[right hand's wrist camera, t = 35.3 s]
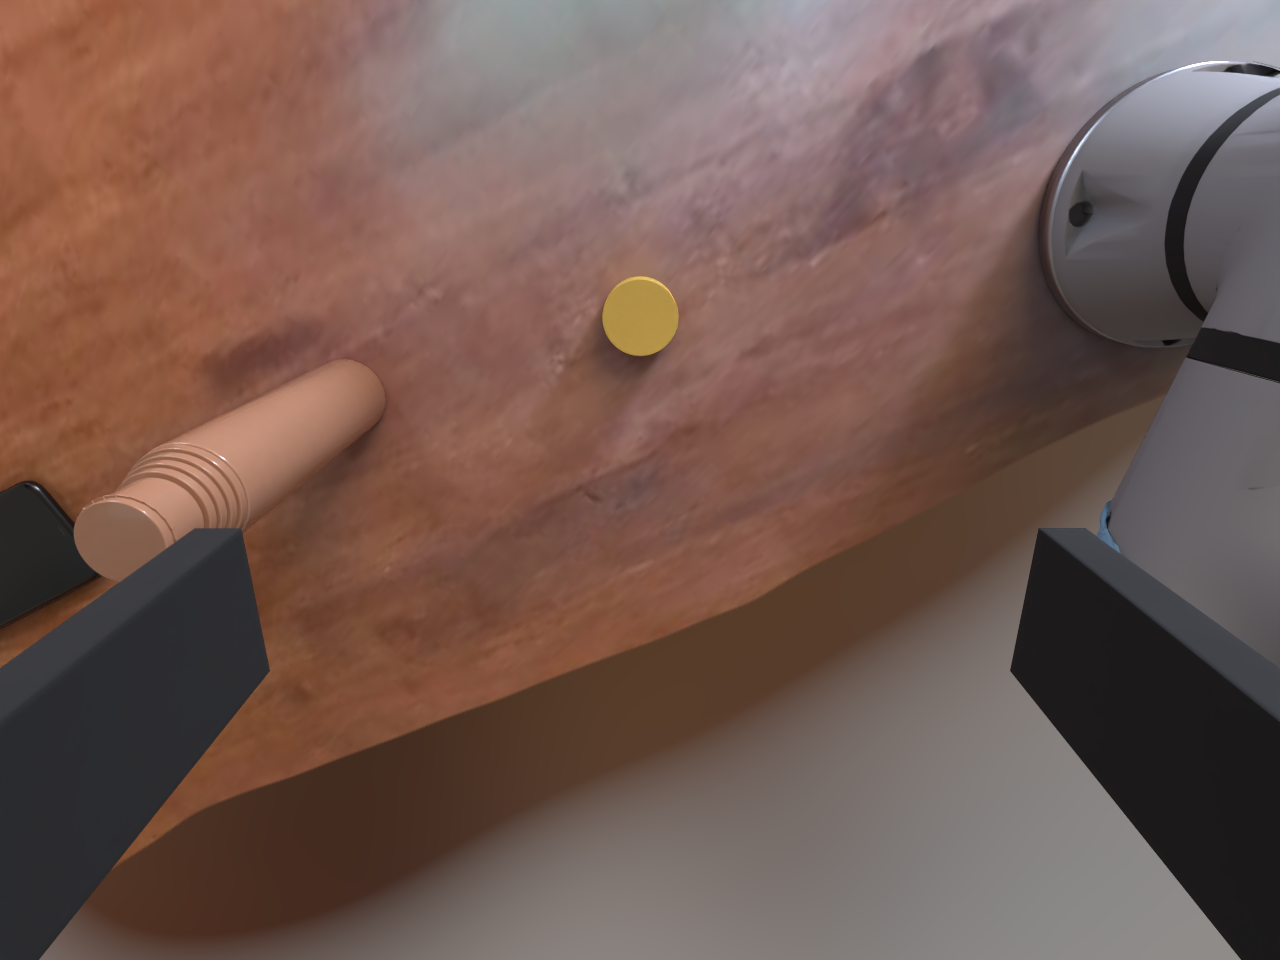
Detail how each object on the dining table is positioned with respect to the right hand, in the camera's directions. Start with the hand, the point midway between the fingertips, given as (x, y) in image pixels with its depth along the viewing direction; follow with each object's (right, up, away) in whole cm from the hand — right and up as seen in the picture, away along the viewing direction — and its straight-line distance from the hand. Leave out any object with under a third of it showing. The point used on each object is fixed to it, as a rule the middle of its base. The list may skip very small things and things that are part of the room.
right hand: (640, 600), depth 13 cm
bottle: (-19, +7, +35) cm, 40 cm away
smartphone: (-45, -4, +39) cm, 60 cm away
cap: (0, +12, +32) cm, 34 cm away
